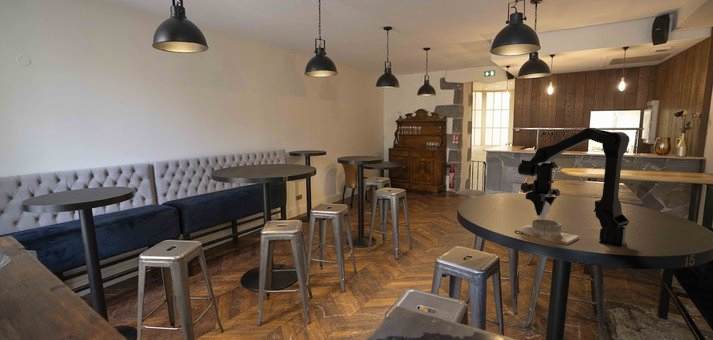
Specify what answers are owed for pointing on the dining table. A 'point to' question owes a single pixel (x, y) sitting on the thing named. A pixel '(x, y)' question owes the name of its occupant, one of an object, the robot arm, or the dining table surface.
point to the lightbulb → (544, 211)
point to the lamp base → (556, 239)
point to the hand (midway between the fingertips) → (541, 214)
